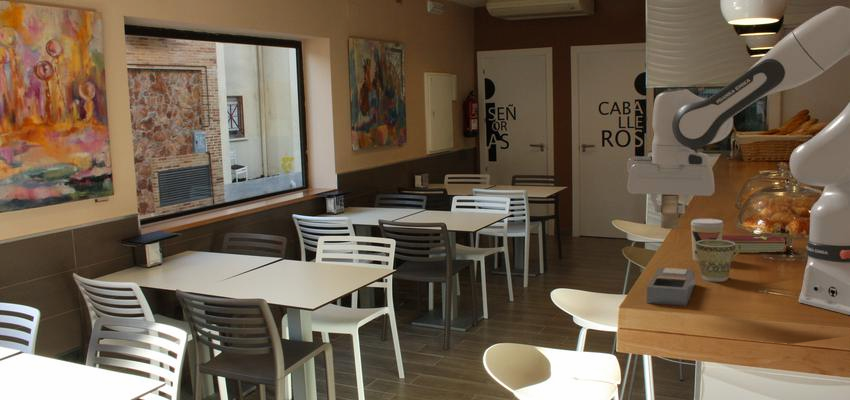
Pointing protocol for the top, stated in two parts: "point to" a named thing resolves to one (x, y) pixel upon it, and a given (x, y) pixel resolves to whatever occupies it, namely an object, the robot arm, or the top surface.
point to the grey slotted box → (671, 286)
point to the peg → (669, 211)
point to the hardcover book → (756, 243)
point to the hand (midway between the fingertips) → (669, 212)
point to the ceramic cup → (715, 258)
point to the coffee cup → (705, 232)
